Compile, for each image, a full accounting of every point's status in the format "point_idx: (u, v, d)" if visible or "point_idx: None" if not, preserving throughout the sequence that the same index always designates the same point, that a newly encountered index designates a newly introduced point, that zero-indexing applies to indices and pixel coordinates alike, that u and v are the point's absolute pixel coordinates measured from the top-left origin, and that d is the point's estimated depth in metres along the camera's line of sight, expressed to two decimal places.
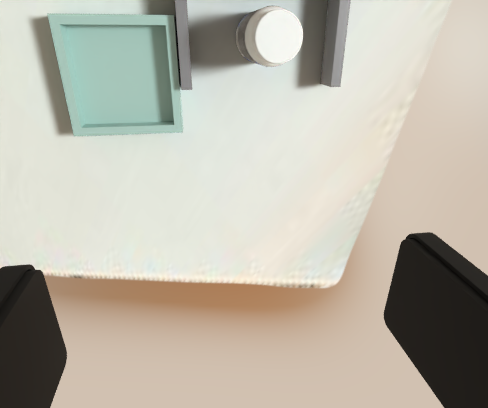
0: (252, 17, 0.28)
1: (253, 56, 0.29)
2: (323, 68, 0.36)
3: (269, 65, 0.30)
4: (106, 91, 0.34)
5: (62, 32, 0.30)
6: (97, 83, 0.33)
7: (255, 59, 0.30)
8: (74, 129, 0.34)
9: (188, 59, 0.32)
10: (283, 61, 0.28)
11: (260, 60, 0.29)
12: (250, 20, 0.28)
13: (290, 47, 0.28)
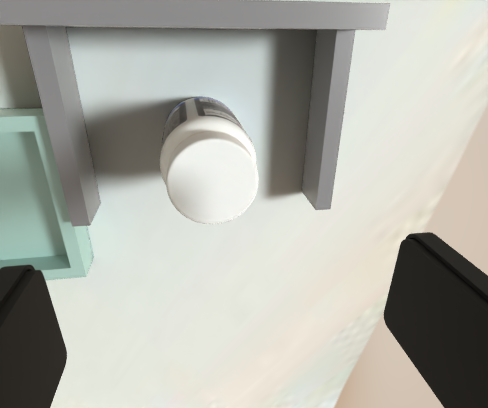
0: (170, 137, 0.16)
1: None
2: (305, 173, 0.24)
3: None
4: None
5: None
6: None
7: None
8: None
9: (77, 184, 0.19)
10: (224, 220, 0.15)
11: None
12: (166, 142, 0.16)
13: (235, 197, 0.15)
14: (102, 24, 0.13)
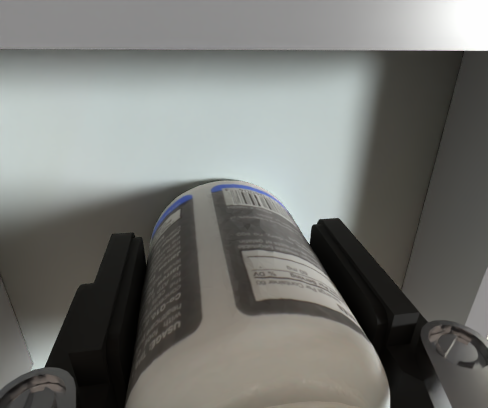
0: (150, 383, 0.05)
1: None
2: None
3: None
4: None
5: None
6: None
7: None
8: None
9: None
10: None
11: None
12: (140, 396, 0.05)
13: None
14: None
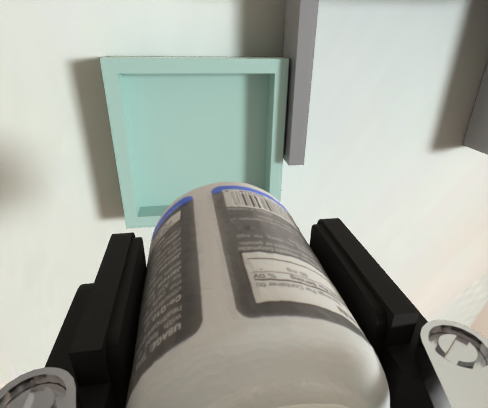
0: (150, 385, 0.05)
1: None
2: (473, 126, 0.26)
3: None
4: (173, 162, 0.23)
5: (119, 84, 0.20)
6: (162, 152, 0.23)
7: None
8: (127, 220, 0.23)
9: (305, 123, 0.21)
10: None
11: None
12: (140, 398, 0.05)
13: None
14: None
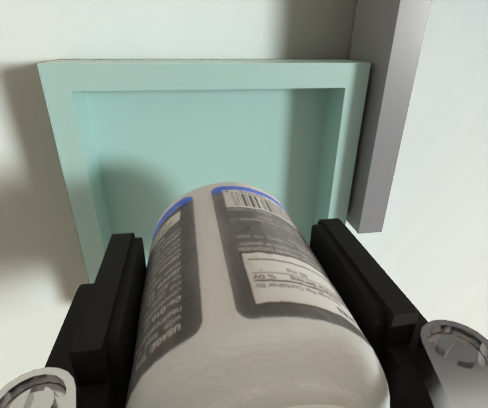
0: (150, 386, 0.05)
1: None
2: None
3: None
4: None
5: (78, 109, 0.11)
6: (155, 209, 0.15)
7: None
8: None
9: (390, 170, 0.13)
10: None
11: None
12: (140, 400, 0.05)
13: None
14: None
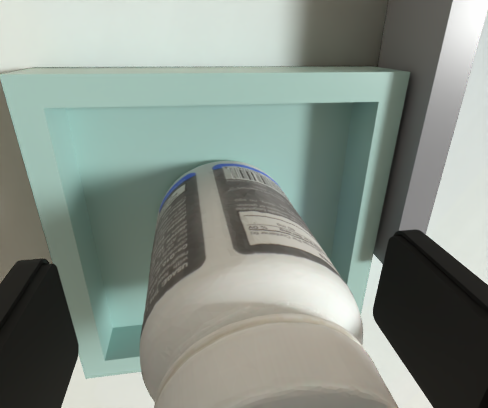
0: (163, 309, 0.06)
1: None
2: None
3: None
4: None
5: (54, 129, 0.09)
6: (149, 241, 0.12)
7: None
8: (86, 366, 0.12)
9: (430, 199, 0.11)
10: None
11: None
12: (155, 320, 0.06)
13: None
14: None
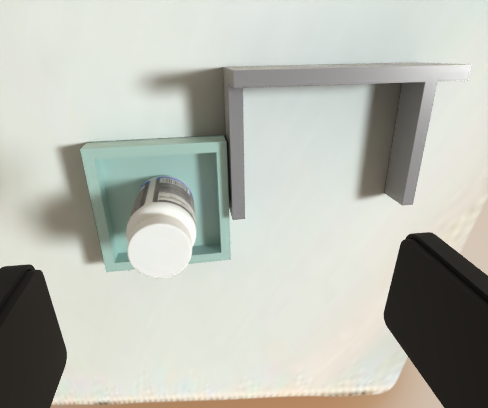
0: (132, 217, 0.23)
1: None
2: (389, 179, 0.32)
3: None
4: None
5: (96, 165, 0.26)
6: None
7: None
8: (106, 265, 0.29)
9: (242, 188, 0.27)
10: (169, 275, 0.22)
11: None
12: (130, 220, 0.23)
13: (176, 260, 0.22)
14: (298, 85, 0.22)
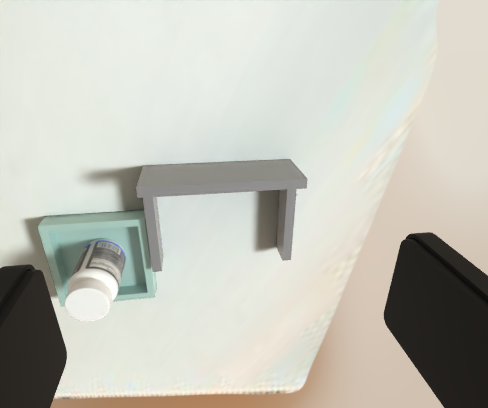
0: (70, 279, 0.33)
1: None
2: (277, 238, 0.42)
3: None
4: None
5: (50, 235, 0.36)
6: None
7: None
8: (61, 302, 0.39)
9: (157, 251, 0.37)
10: (95, 319, 0.33)
11: None
12: (69, 281, 0.33)
13: (99, 310, 0.32)
14: (182, 194, 0.32)
